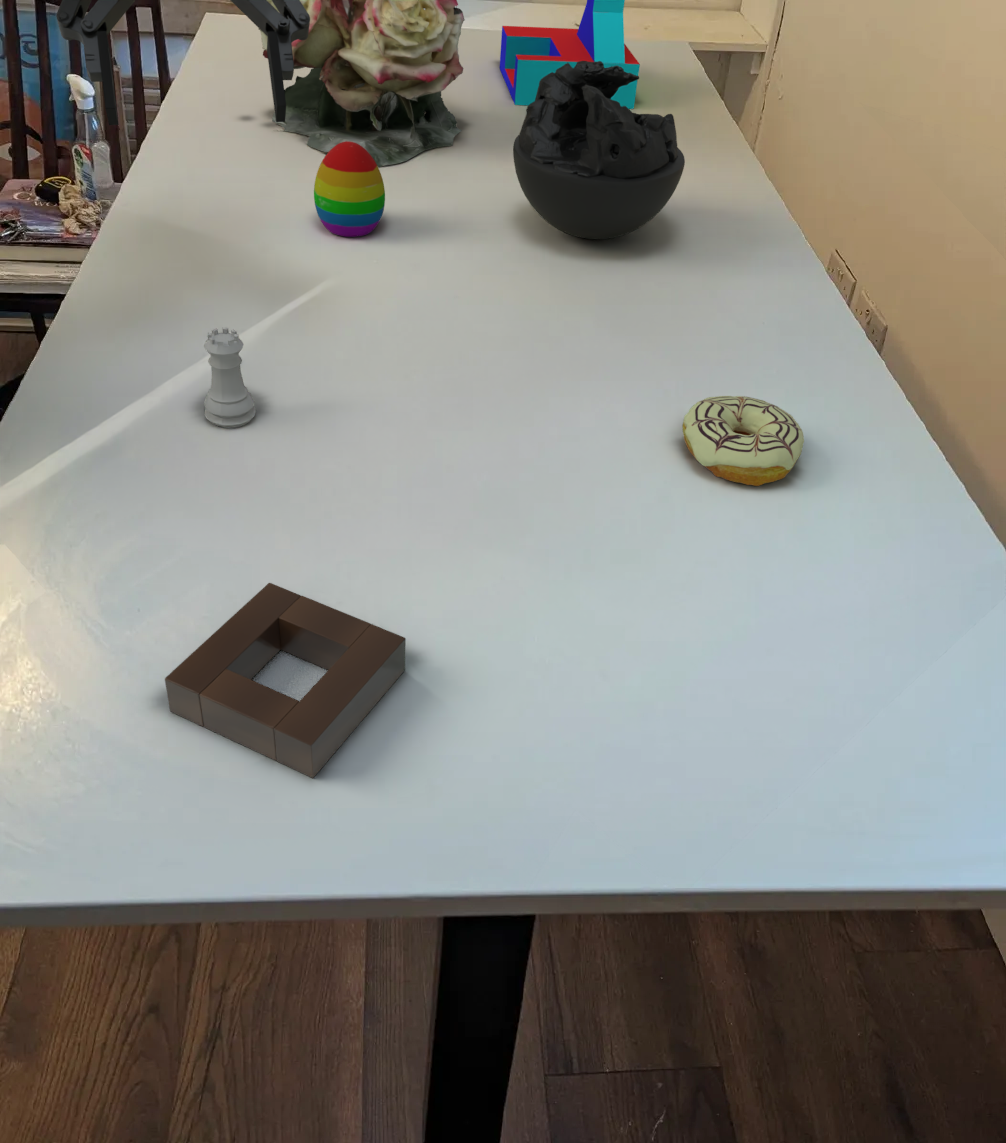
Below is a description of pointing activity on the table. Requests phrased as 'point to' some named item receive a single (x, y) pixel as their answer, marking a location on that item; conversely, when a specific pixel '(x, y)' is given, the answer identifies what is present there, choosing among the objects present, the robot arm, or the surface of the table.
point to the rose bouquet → (375, 76)
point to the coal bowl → (594, 154)
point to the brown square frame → (267, 717)
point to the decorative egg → (349, 191)
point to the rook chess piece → (227, 382)
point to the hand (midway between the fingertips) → (198, 116)
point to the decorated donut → (743, 439)
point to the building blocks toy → (567, 51)
